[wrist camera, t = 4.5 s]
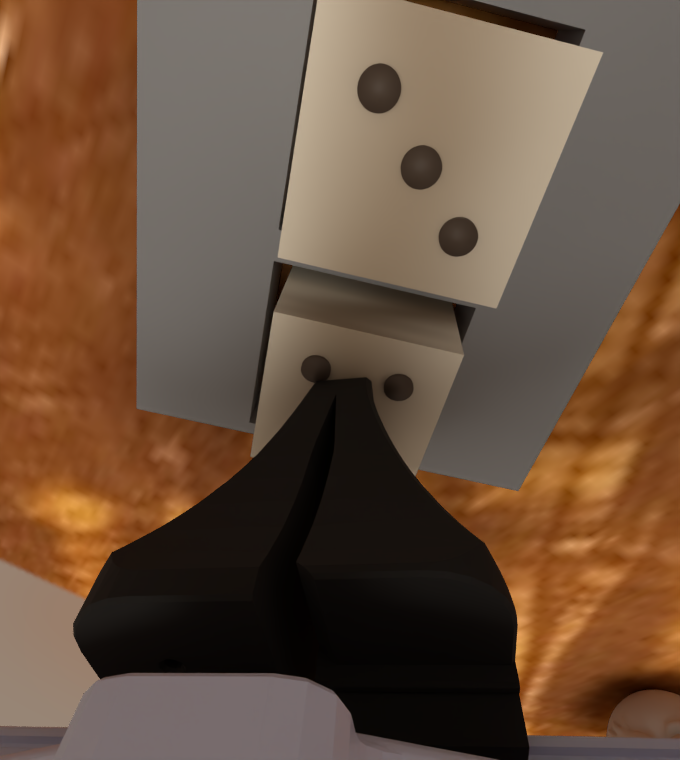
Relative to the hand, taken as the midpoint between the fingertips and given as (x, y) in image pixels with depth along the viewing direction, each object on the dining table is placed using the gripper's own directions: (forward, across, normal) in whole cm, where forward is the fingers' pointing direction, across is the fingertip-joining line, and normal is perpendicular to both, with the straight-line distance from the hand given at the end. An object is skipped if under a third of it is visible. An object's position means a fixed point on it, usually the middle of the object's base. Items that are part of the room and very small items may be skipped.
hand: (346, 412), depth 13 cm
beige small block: (+2, -2, -6) cm, 7 cm away
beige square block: (+3, 0, 0) cm, 3 cm away
